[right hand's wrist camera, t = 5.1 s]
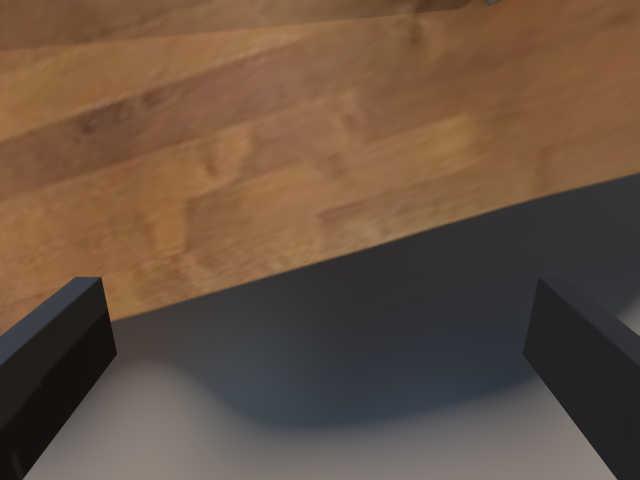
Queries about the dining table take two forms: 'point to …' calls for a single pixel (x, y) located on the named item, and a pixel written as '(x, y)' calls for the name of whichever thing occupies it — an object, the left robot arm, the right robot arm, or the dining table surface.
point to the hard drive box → (492, 1)
